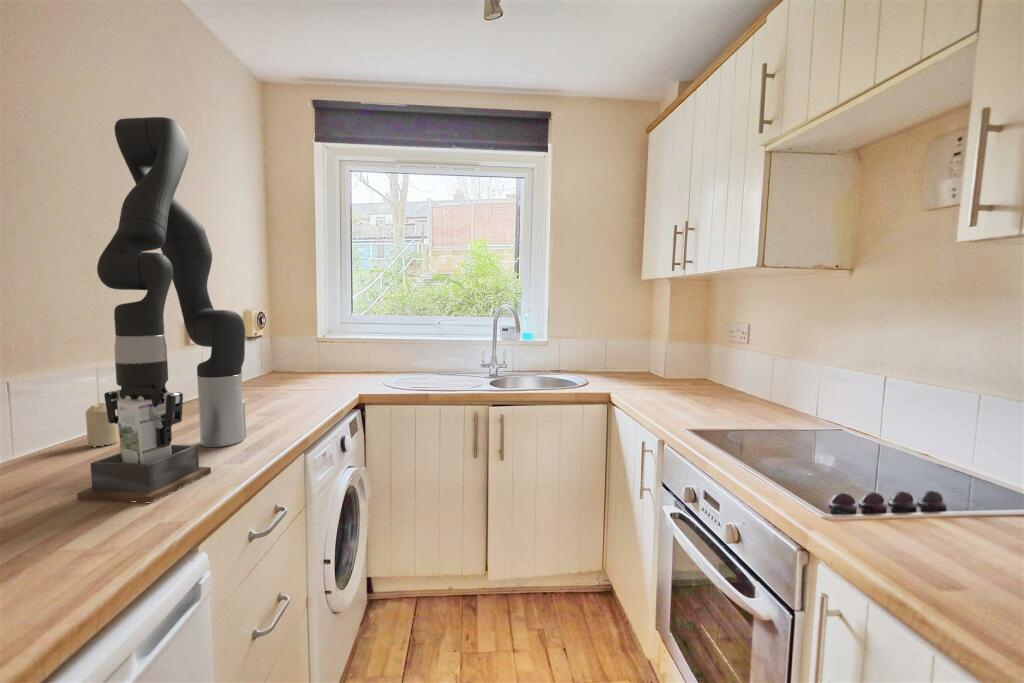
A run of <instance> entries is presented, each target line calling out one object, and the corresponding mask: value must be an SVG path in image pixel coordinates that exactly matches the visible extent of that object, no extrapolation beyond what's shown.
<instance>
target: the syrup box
mask: <svg viewBox="0 0 1024 683" xmlns="http://www.w3.org/2000/svg"><path fill="white" fill-rule="evenodd" d="M149 405H150V406H152V407H153V409H154V410H155V411H156V412H158V411H162V410H165V409H166V404H165V403H164V402H163V404H162V400H161V401H160V402H159V405H158V406H157V407H154V406H153V404H152V401H151V399H148V400H145V401H138V399H134V400H131V401H124V399H122V400H117V406H118V413H117V415H118V420H119V426H118V434H119V443H120V445H119V446H120V453H121V460H122V463H135V464H150V463H153V462H155V461H158V460H160V459H162V458H165V457H167V456H170V455H172V451H171V445H172V441H171V442H170V444H169V445H168V446H165V447H163V448H161V447H157V435H156V429H157V426H156V425H155V423H154V421H153V419H150V417H149V413H150V412H149ZM160 417H161V419H162V421H164V415H161V416H160Z"/></svg>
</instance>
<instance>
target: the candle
mask: <svg viewBox="0 0 1024 683" xmlns="http://www.w3.org/2000/svg"><path fill="white" fill-rule="evenodd" d="M115 414H116V416H117V415H118V413H117V409H116V410H115ZM85 420H86V422H85V423H86V435H87V445H88V447H89V446H103V447H105V446H104V445H109V444H113V445H115V444H114V443H116V442H119V426H118V425H117V424H116V423H109V421H108V416H107V409H106V403H104V402H100V403H95V404H93V405H91V406H90V407H89V408H88V409H87V410H86V411H85ZM116 444H117V443H116ZM109 446H110V445H109Z"/></svg>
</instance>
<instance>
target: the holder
mask: <svg viewBox="0 0 1024 683" xmlns="http://www.w3.org/2000/svg"><path fill="white" fill-rule="evenodd" d="M171 451H172V455H170V456H167V457H165V458H162V459H160V460H158V461H155V462H153V463H150V464H135V463H122V460H121V452H117V453H116V454H113V455H109V456H107V457H104V458H101V459H98V460H96V461H93V462H90V478H91V487H88V488H85V489H83V490H81V491H78V492H77V493H76V498H77V499H76V500H81V501H99V502H101V501H102V502H116V501H126V502H125V503H132V502H131V501H136V502H153V501H154V500H156V499H158V498H160V497H162V496H164V495H166V494H168V493H170V492H172V491H174V490H176V489H178V488H180V487H182V486H184V485H186V484H188V483H190V482H192V481H194V480H196V479H198V478H200V477H202V476H204V477H206V476H207V474H208V475H210V474H211V473H212V470H211V468H212V467H210V466H200V463H199V462H200V461H199V445H191V444H190V445H189V444H188V445H187V444H171ZM209 473H210V474H209ZM205 475H206V476H205ZM202 478H203V477H202ZM200 479H201V478H200ZM198 480H199V479H198ZM196 481H197V480H196ZM194 482H195V481H194ZM192 483H193V482H192ZM190 484H191V483H190ZM188 485H189V484H188ZM186 486H187V485H186ZM184 487H185V486H184ZM182 488H183V487H182ZM180 489H181V488H180ZM178 490H179V489H178ZM176 491H177V490H176ZM174 492H175V491H174ZM172 493H173V492H172ZM153 503H154V502H153Z"/></svg>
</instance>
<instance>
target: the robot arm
mask: <svg viewBox="0 0 1024 683" xmlns="http://www.w3.org/2000/svg"><path fill="white" fill-rule="evenodd" d="M114 136H115V140H116V142H117V146H118V148H119V151H120V153H121V155H122V158H123V159H124V162H125V164H126V166H127V169H128V170H129V173H130V174H131V176H132V178H133V182H134V183H135V185H134V187H132V188H131V190H130V191H129V192H128V194H127V195H126V196H125V198H124V201H123V202H122V205H121V210H120V214H119V215H120V216H119V222H118V226H117V230H116V231H115V233H114V235H113V237H112V238H111V240H110V241H109V242H108V243H107V246H106V247H104V249H103V250H102V253H101V255H100V256H99V259H98V261H97V266H96V272H97V275H98V278H99V280H100V281H101V283H102V284H103V285H104V286H106V287H108V288H109V289H113V290H120V291H122V290H123V291H124V290H125V291H126V290H127V291H128V290H131V291H146V294H145V296H144V297H143V298H141V300H138V301H133V302H125V303H121V304H118V305H117V306H115V308H114V309H113V312H114V313H113V315H114V316H113V317H114V318H113V319H114V328H115V329H114V331H115V339H114V362H115V363H114V365H115V379H116V380H115V381H116V382H115V383H116V385H117V386H119V387H120V389H117V390H111V391H107V392H105V393H104V394H103V395H104V402H105V404H106V409H107V416H108V421H109V423H116V424H117V425H118V427H119V420H118V406H117V400H122V399H124V401H131V400H134V399H138V401H145V400H148V399H151V401H152V404H153V406H154V407H157V406H158V405H159V402H160V401H161V400H162V404H163V402H164V403H165V404H166V409H165V410H162V411H158V412H156V411H155V410H154V409H153V407H152V406H150V405H149V412H150V413H149V417H150V419H153V421H154V423H155V425H156V426H157V429H156V435H157V447H161V448H163V447H165V446H168V445H169V444H170V442H171V443H172V440H173V437H172V435H173V434H172V426H173V425H175V424H178V423H182V418H183V403H184V402H183V400H184V394H183V392H181V391H179V392H178V391H177V392H168V390H167V388H166V384H167V382H168V381H169V368H168V366H169V365H168V348H167V346H168V345H167V342H166V337H165V321H164V320H165V319H164V311H165V306H166V300H167V296H168V293H169V289H170V287H171V284H172V283H173V285H174V288H175V292H176V293H177V294H176V295H177V298H178V301H179V306H180V309H181V315H182V319H183V323H184V326H185V329H186V333H187V335H188V337H189V339H190V340H191V341H192V342H193V343H194V344H196V345H197V346H200V347H203V348H206V347H207V348H210V349H211V350H210V356H209V358H207V360H205V361H202V362H200V363H198V364H197V367H196V377H197V394H198V396H197V399H198V401H197V402H198V421H199V441H200V442H199V443H200V446H201V447H204V448H205V447H206V448H220V447H227V446H232V445H234V444H235V445H236V444H239V443H241V442H242V441H244V439H245V438H246V437H247V428H246V427H247V426H246V425H247V424H246V420H247V419H246V402H245V401H244V400H243V377H242V376H243V374H242V368H243V364H244V361H245V354H246V352H245V351H246V349H245V348H246V346H245V345H246V328H245V322H244V320H243V318H242V316H241V315H240V314H239V313H238V312H236V311H235V310H234V311H233V310H226V309H214V307H213V304H212V302H211V297H210V295H209V291H208V279H209V275H210V271H211V267H212V263H213V252H212V249H211V246H210V242H209V239H208V236H207V234H206V229H205V227H204V225H203V224H202V222H200V220H199V219H198V218H197V217H196V216H195V214H193V213H192V212H191V211H190V210H189V209H188V208H187V207H185V205H183V204H182V203H181V202H180V201H179V200H178V199H177V198H176V197H175V192H176V191H177V188H178V186H179V183H180V181H181V178H182V175H183V173H184V170H185V168H186V165H187V162H188V160H189V158H188V157H189V141H188V139H187V136H186V133H185V132H184V130H183V129H182V127H181V126H180V125H179V124H178V122H176V121H175V120H174V119H172V118H170V117H161V116H151V117H150V116H149V117H132V118H131V117H128V118H121V119H118V120H116V122H115V124H114ZM158 249H160V251H161V253H160V252H152V251H155V250H158ZM116 409H117V416H116V414H115V410H116ZM161 415H164V421H162V419H161V417H160V416H161Z"/></svg>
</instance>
